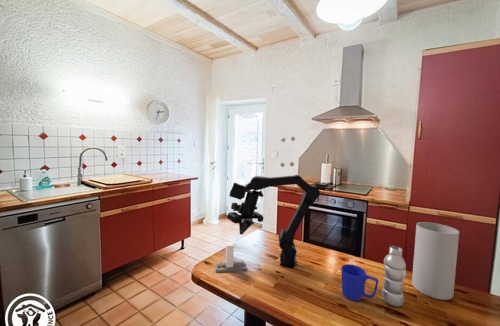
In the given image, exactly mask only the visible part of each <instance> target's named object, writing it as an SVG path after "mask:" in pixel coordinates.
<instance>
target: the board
mask: <svg viewBox="0 0 500 326" xmlns="http://www.w3.org/2000/svg"><path fill="white" fill-rule="evenodd" d="M246 270H247V267H246V263H245V262H244V266H233V267H229V268H226V267H217V262H215V273H227V272H239V271H241V272H242V271H246Z"/></svg>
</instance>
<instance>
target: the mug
mask: <svg viewBox="0 0 500 326" xmlns="http://www.w3.org/2000/svg"><path fill="white" fill-rule="evenodd" d="M340 268H341V269H340V271H341V292H342V295H343V296H344V297H345V298H346V299H348V300H350V301H353V302H354V301H355V302H357V301H361V300H362V299H363V297H365V298H367V299H373V298H374V297H375V296H376V293H377V289H378V286H379V279H378V278H377V277H375V276H372V275H367V272H366V270H365V269H364V268H362V267H360V266H358V265H355V264H347V263H346V264H343V265H341V267H340ZM367 280H372V281H375V285H374V290H373V292H372V293H371V294H367V293H365V289H366V281H367Z"/></svg>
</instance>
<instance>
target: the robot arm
mask: <svg viewBox="0 0 500 326" xmlns="http://www.w3.org/2000/svg"><path fill="white" fill-rule="evenodd" d="M289 185H290V186H291V185H296V186H298V187H299V188H300V189H301V190H303V193H302V196H301V200H300V202H299V204H298V206H297V208H296V211H295V212H294V213H293V216H292V218H291V220H290V222H289V224H288V226H287V227H286V228H285V229H284V228H281V231H280V232H279V233H278V234H277V236H278V245H279V246H278V247H279V248H280V249H281V253H280V254H279V262H280V264H279V266H282V267H285V268H288V269H292V270H294V269H295V267H296V265H297V264H298V261H297V247H296V244H295V243H294V241H295V237H296V233H297V231H298V229H299V227H300V225H301V223H302V221H303V220H304V217H305V216H306V214H307V213H308V211H309V209H310V207H311V206H312V205H313V204H314V203H315V202H316V201H317V199H319V197H320V194H321V192H320V189H319V188H318V187H317V186H316V185H314V184H310V183H308V182H307V181H306V180H304V178H303V177H302V176H300V175H299V174H295V175H285V176H273V177H268V176H262V175H260V176H259V175H256V176H255V175H254V176H253V177H252V178H251V180H250V181H249V182H248V183H247V184H246V185H243V184H239V183H237V182H233V185H232V186H231V187H232V188H231V189H230V192H229V197H230V198H233V199H237V200H242V199H244V201H243V202H241V204H238V203H237V202H232V203H231V206H230V209H231V210H232V212H231V211H229V212H228V213H227V217H226V218H227V219H228V220H229V221H231V222H232V223H233V224H238V225H239V226H238V227H239V228H238V229H239V235H243V234H245V232H247V230H248V229H249V228H250V227H251V226H252V225H254V224H255V222H254V221H253V220H255V219H256V220H257V222H259V223H262V222H264V216H263V214H261V213H259V212H258V211H255V210H258V207H257V204H258V200H259V198H263V197H264V193H263V191H262V190H263V189H264V190H265V189H266V188H269V187H278V186H281V187H282V186H289ZM237 212H238V213H237Z"/></svg>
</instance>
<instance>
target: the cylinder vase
mask: <svg viewBox="0 0 500 326" xmlns="http://www.w3.org/2000/svg"><path fill="white" fill-rule="evenodd" d="M459 236H460V231H459V230H458V229H457V228H455V227H451V226H449V225H446V224H445V225H444V224H441V223H436V222H429V221H428V222H427V221H425V222H424V221H421V222H419V221H418V222H416V226H415V241H414V252H413V262H412V264H413V265H412V278H411V285H412V286H413V288H415V289H416V290H417V291H418V292H420V293H421V294H422V295H425V296H427V297H430V298H431V299H432V298H433V299H437V300H441V301H442V300H443V301H449V300H451V299H453V298H454V292H455V290H454V289H455V283H456V282H455V281H456V270H457V269H456V268H457V258H458V249H459V238H460V237H459Z"/></svg>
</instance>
